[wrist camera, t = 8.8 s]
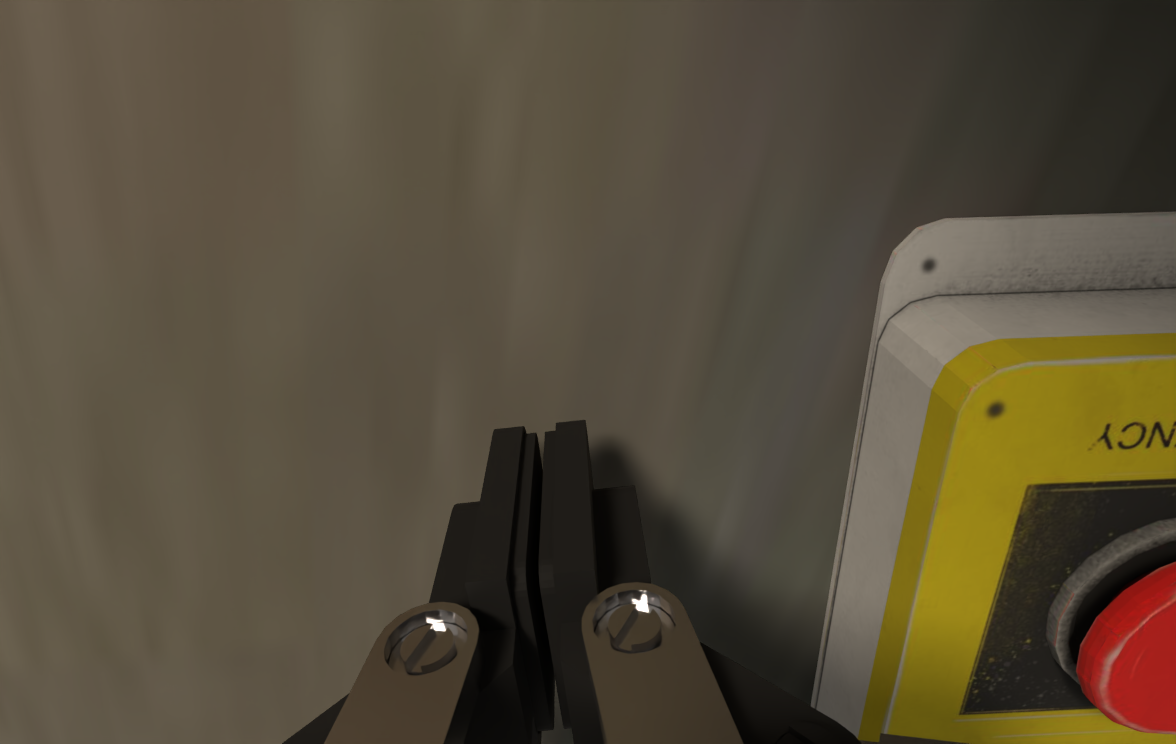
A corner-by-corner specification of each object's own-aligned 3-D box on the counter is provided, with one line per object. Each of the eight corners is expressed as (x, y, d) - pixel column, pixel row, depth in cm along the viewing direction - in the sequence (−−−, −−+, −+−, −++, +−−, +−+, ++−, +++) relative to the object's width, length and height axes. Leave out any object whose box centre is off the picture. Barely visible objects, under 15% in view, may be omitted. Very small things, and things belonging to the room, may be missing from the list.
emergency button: (1772, 260, 8) (1279, 937, 14) (1378, 198, 12) (1124, 749, 18) (1033, 285, 8) (856, 961, 14) (878, 213, 12) (791, 766, 18)
